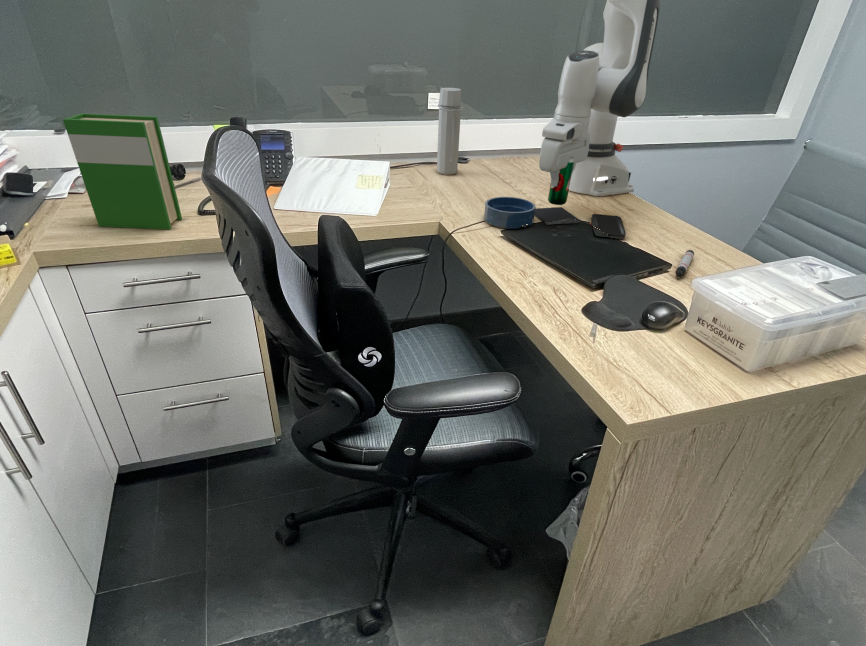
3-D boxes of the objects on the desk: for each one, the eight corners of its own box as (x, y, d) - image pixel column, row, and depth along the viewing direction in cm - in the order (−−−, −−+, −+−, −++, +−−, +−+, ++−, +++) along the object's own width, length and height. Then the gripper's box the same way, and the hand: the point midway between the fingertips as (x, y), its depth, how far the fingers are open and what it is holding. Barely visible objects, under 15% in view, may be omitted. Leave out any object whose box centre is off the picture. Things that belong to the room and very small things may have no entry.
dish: (521, 211, 152) (523, 195, 149) (541, 228, 141) (543, 211, 139) (477, 214, 149) (478, 198, 146) (493, 231, 138) (495, 214, 136)
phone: (620, 216, 147) (626, 235, 135) (619, 220, 148) (625, 239, 136) (591, 213, 148) (594, 232, 136) (590, 217, 149) (593, 236, 137)
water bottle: (433, 170, 184) (435, 87, 170) (455, 169, 186) (459, 87, 171) (439, 177, 177) (443, 91, 163) (462, 176, 179) (468, 91, 164)
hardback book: (182, 219, 139) (157, 116, 124) (170, 229, 133) (142, 122, 118) (114, 216, 139) (81, 113, 125) (98, 226, 133) (62, 119, 119)
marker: (684, 256, 128) (686, 248, 127) (692, 258, 128) (695, 250, 127) (672, 279, 118) (674, 271, 116) (681, 282, 117) (684, 273, 116)
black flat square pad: (561, 209, 155) (561, 206, 154) (580, 223, 145) (581, 221, 145) (528, 210, 153) (529, 208, 152) (546, 225, 143) (547, 223, 143)
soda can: (567, 206, 145) (577, 159, 138) (549, 205, 144) (557, 158, 137) (564, 200, 149) (573, 154, 142) (546, 199, 149) (553, 153, 142)
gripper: (578, 120, 144) (568, 173, 152) (539, 129, 131) (530, 188, 139) (600, 123, 141) (588, 178, 149) (562, 134, 127) (552, 193, 136)
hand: (560, 183), depth 144 cm, fingers closed on soda can, 5 cm apart
